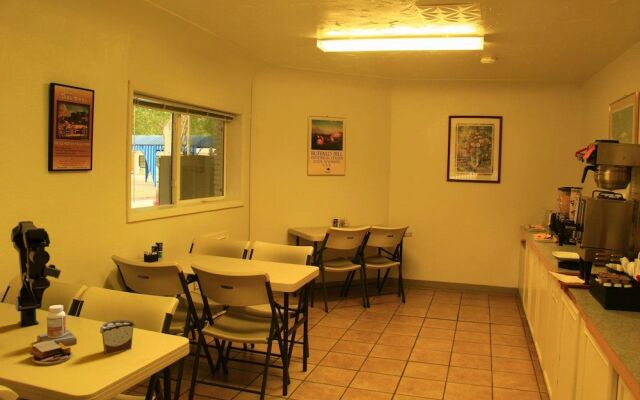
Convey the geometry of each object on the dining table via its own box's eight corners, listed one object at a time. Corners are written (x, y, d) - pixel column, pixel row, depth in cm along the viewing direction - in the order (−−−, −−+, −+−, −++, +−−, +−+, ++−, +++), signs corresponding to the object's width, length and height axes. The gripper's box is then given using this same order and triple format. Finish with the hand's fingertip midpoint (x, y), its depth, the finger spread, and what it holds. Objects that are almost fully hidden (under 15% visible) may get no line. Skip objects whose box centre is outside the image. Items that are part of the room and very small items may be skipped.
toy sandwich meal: (39, 369, 170) (39, 355, 170) (24, 358, 179) (24, 344, 179) (78, 359, 179) (78, 346, 179) (62, 349, 188) (62, 336, 188)
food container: (127, 343, 195) (127, 317, 195) (135, 347, 191) (135, 321, 190) (94, 351, 187) (94, 323, 186) (101, 356, 182) (101, 327, 182)
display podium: (37, 341, 195) (36, 334, 195) (69, 335, 202) (68, 329, 202) (43, 350, 186) (43, 343, 186) (76, 343, 193) (76, 337, 193)
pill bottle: (56, 332, 198) (56, 303, 197) (69, 334, 196) (69, 305, 195) (43, 337, 192) (42, 307, 191) (56, 339, 190) (56, 309, 189)
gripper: (64, 263, 198) (65, 303, 199) (53, 255, 212) (53, 293, 214) (31, 266, 191) (32, 308, 192) (21, 258, 205) (22, 297, 207)
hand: (36, 301), depth 201 cm, fingers open, 9 cm apart
